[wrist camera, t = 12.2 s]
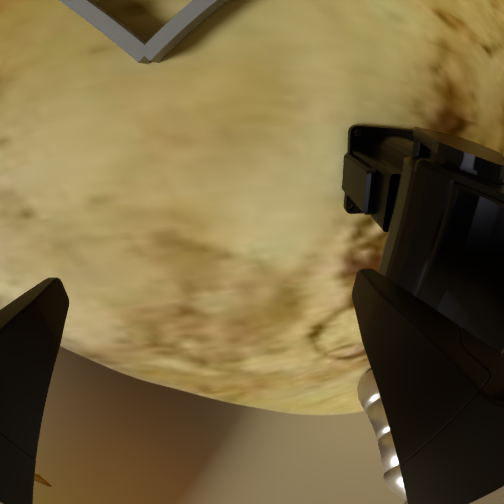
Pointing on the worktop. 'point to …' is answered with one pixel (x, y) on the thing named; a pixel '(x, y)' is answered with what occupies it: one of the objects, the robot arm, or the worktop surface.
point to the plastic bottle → (381, 433)
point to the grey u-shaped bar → (161, 42)
